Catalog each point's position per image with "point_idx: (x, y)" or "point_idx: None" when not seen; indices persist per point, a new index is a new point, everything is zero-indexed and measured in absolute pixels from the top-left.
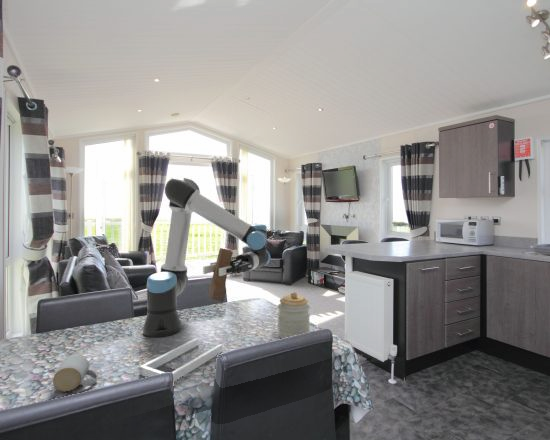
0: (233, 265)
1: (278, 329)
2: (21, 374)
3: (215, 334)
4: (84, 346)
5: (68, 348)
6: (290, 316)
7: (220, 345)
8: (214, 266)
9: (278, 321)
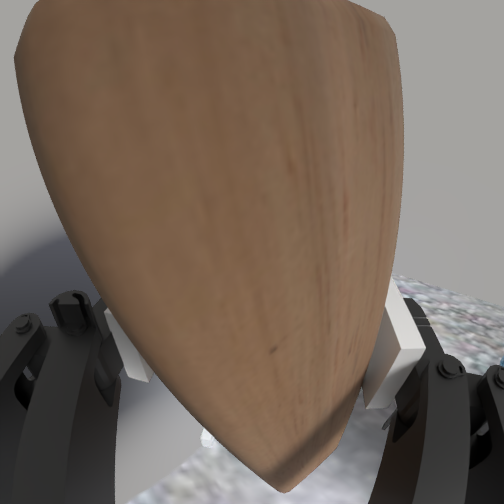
0: (73, 303)
1: None
2: (421, 288)
3: None
4: (464, 345)
5: (467, 333)
6: None
7: (203, 434)
8: (383, 346)
9: None
